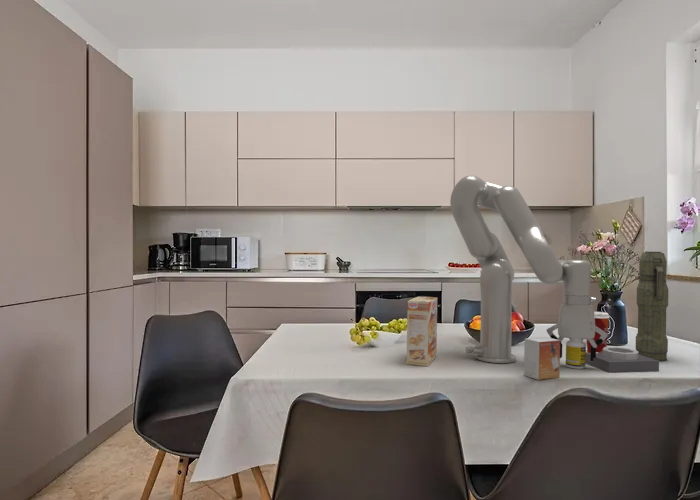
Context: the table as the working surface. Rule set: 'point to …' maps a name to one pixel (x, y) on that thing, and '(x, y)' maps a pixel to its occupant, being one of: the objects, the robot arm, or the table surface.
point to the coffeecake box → (421, 330)
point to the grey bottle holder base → (622, 360)
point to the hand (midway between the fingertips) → (576, 358)
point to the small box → (542, 358)
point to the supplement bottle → (575, 353)
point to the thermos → (652, 306)
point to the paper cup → (601, 323)
